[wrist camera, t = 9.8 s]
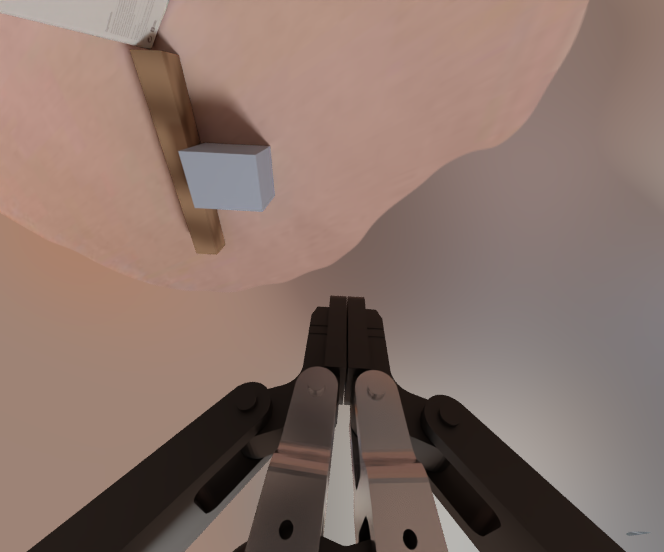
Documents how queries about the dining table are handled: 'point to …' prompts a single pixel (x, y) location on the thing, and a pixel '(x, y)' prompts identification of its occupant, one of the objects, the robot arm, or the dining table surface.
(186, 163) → the block
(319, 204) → the dining table surface
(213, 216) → the board
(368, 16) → the dining table surface
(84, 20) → the skincare box
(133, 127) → the dining table surface
